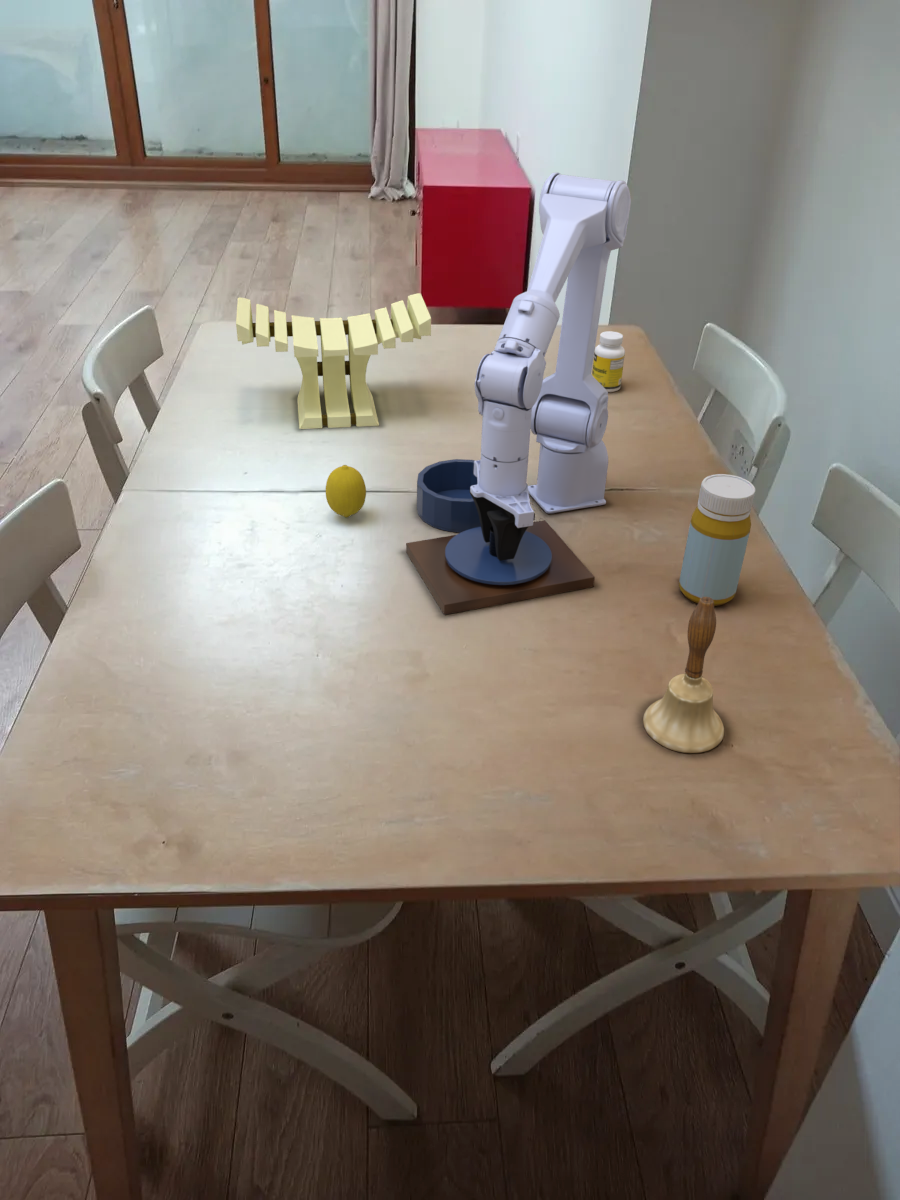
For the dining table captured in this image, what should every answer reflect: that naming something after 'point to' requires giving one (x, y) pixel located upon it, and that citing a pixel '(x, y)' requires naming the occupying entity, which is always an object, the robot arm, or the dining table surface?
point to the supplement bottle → (609, 361)
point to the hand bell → (689, 695)
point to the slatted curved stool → (335, 354)
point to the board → (469, 594)
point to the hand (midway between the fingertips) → (498, 549)
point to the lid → (483, 565)
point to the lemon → (345, 491)
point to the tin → (448, 495)
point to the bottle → (717, 539)
